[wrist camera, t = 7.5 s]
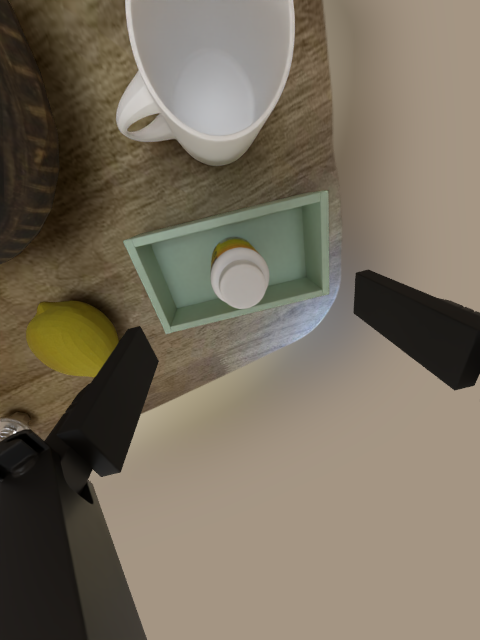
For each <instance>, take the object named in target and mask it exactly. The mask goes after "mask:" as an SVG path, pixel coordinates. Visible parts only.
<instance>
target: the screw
mask: <svg viewBox="0 0 480 640" xmlns="http://www.w3.org/2000/svg"><path fill="white" fill-rule="evenodd" d="M30 420H31V419H30V418H29V416H28V415H27V414H25V413H20V412H16V413H14V414H12V415H11V416H10V417H1V418H0V442H1V441H2V440H4V439H5V438H7V437H8V436H10V435H12V434H14V433H16V432H18V431H21V430H24V429H30V426H29V425H28V424H27V423H28V422H29V421H30Z"/></svg>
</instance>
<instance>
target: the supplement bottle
mask: <svg viewBox="0 0 480 640" xmlns="http://www.w3.org/2000/svg"><path fill="white" fill-rule="evenodd" d="M210 279H211V285H212V288H213V290H214V292H215V294H216V295H217V296H218V297H219V298H220V299H221V300H222V301H224V302H225V303H227V304H228V305H230V306H232V307H234V308H238V309H246V308H250V307H252V306H254V305H256V304H257V303H259V302H260V301H261V299H262V298H263V296H264V294H265V291H266V289H267V287H268V283H269V269H268V266H267V264H266V262H265V260H264V259H263V257H262V256H261V255H260V254H259V253H258V252H257V251H256V250H255V248H254V247H253V246H252V245H251V244H250V243H249V242H248V241H247V240H245V239H243V238H240V237H228V238H226V239H223V240H222V241H220V242H219V243H218V244H217V245H216V247H215V248H214V250H213V253H212V258H211V274H210Z"/></svg>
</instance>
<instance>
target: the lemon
mask: <svg viewBox="0 0 480 640" xmlns="http://www.w3.org/2000/svg"><path fill="white" fill-rule="evenodd" d="M26 339H27V343H28V346H29V347H30V349H31V351H32V352H33V353H34V354H35V356H36V357H37V358H38V359H39V360H40V361H41V362H43V363H44V364H45V365H47V366H48V367H50V368H52V369H54V370H55V371H58V372H61V373H64V374H68V375H74V376H89V377H95V376H96V375H97V374H98V372H99V371H100V369H101V368H102V366H103V365H104V363H105V362H106V360H107V359H108V357H109V356H110V354H111V353H112V352H113V350H114V349H115V347H116V346H117V344H118V343H119V340H118V335H117V332H116V330H115V328H114V326H113V324H112V323H111V321H110V320H109V319H108V318H107V317H106V316H105V315H104V314H103V313H102V312H101V311H100V310H98V309H96V308H95V307H93V306H91V305H89V304H87V303H84V302H80V301H71V300H70V301H63V302H41V303H40V304H39V305H38V308H37V313H36V315H35V317H34V318H33V319H32V320H31V322H30V323H29V324H28V327H27V330H26Z"/></svg>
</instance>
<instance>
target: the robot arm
mask: <svg viewBox="0 0 480 640" xmlns="http://www.w3.org/2000/svg"><path fill="white" fill-rule="evenodd" d="M354 314H355V315H357V316H358V317H359V318H361V319H362V320H364V321H365V322H366V323H367V324H368V325H370V326H371V327H372V328H374V329H375V330H376V331H378V332H379V333H380V334H382V335H383V336H384V337H385V338H387V339H388V340H389V341H391V342H392V343H393V344H395V345H396V346H397V347H399V348H400V349H401V350H402V351H404V352H405V353H406V354H408V355H409V356H410V357H412V358H413V359H414V360H416V361H417V362H418V363H420V364H421V365H422V366H423V367H425V368H426V369H427V370H429V371H430V372H431V373H433V374H434V375H435V376H437V377H438V378H439V379H440V380H442V381H443V382H444V383H446V384H447V385H448V386H450V387H451V388H452V389H454V390H458V389H462V388H466V387H470V386H474V385H475V383H476V381H477V378H478V376H479V374H480V313H479V312H474V310H472V309H469V308H467V307H463V306H462V305H459V304H457V303H454V302H452V301H449V300H444V299H439V298H436V297H433V296H431V295H429V294H426V293H424V292H421V291H419V290H416V289H414V288H412V287H409V286H407V285H404V284H402V283H399V282H397V281H395V280H392V279H390V278H387V277H385V276H382V275H380V274H377V273H375V272H373V271H370V270H365V271H362V272H357V273H356V278H355V297H354ZM158 362H159V361H158V359H157V357H156V355H155V353H154V351H153V349H152V348H151V346H150V344H149V342H148V340H147V338H146V336H145V334H144V332H143V330H142V328H141V327H140V326H139V327H135V328H131V329H128V330H127V331H126V332H125V334H124V335H123V337H122V338H121V340H120V341H119V343H118V344H117V346H116V347H115V349H114V350H113V352H112V353H111V354H110V356H109V357H108V359H107V360H106V362H105V363H104V365H103V366H102V368H101V369H100V371H99V372H98V374H97V375H96V376H95V378H94V379H93V381H92V382H91V383H90V384H88V385H87V386H86V387H85V388H84V389H83V390H82V391H80V392H79V393H78V395H77V396H76V398H75V399H74V400H73V402H72V405H70V406H69V407H68V409H67V410H66V413H65V414H63V416H62V417H61V419H60V420H59V421H58V423H57V424H56V426H55V427H54V428H53V430H52V431H51V433H50V434H49V435H48V437H47V438H46V440H45V441H43V440H42V439H41V438H40V437H39V436H38V435H37V434H35V433H34V432H33V431H32V430H31V429H24V430H21V431H18V432H16V433H14V434H12V435H10V436H8V437H7V438H5V439H4V440H2V441H1V442H0V640H147V638H146V635H145V633H144V630H143V627H142V624H141V621H140V618H139V616H138V613H137V610H136V607H135V604H134V601H133V598H132V595H131V592H130V590H129V587H128V584H127V581H126V578H125V575H124V572H123V570H122V567H121V564H120V561H119V558H118V556H117V553H116V550H115V547H114V544H113V541H112V538H111V535H110V533H109V530H108V527H107V524H106V521H105V518H104V515H103V513H102V510H101V507H100V504H99V501H98V498H97V495H96V493H95V490H94V487H93V484H92V483H91V482H90V481H89V480H88V478H89V476H90V474H91V471H92V469H93V470H94V471H95V472H96V473H98V474H99V475H100V476H101V477H103V476H107V475H111V474H115V473H120V472H121V470H122V467H123V463H124V460H125V458H126V455H127V452H128V449H129V446H130V443H131V440H132V438H133V435H134V432H135V429H136V426H137V423H138V420H139V417H140V414H141V411H142V408H143V406H144V403H145V400H146V397H147V394H148V391H149V388H150V385H151V382H152V379H153V376H154V373H155V371H156V368H157V365H158Z"/></svg>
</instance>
